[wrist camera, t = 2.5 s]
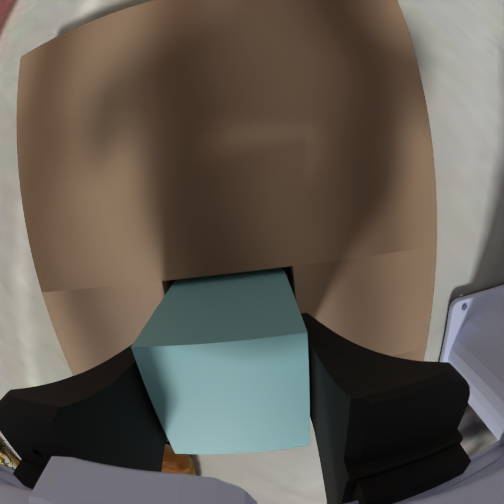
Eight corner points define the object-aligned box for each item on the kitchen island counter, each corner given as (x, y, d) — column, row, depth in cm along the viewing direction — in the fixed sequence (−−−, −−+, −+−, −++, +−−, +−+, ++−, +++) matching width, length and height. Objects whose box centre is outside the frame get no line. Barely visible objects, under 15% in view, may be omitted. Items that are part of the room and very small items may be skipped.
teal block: (279, 257, 14) (306, 332, 7) (287, 341, 15) (309, 445, 8) (183, 268, 14) (130, 347, 7) (200, 350, 15) (175, 453, 8)
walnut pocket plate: (376, 14, 11) (394, -7, 8) (399, 366, 15) (416, 390, 13) (46, 68, 11) (20, 56, 9) (110, 394, 16) (96, 420, 13)
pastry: (120, 420, 17) (103, 459, 13) (214, 447, 17) (210, 490, 14) (121, 479, 19) (111, 509, 15) (194, 499, 19) (190, 531, 16)
